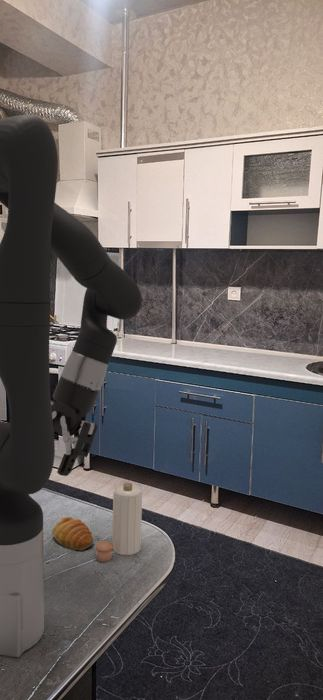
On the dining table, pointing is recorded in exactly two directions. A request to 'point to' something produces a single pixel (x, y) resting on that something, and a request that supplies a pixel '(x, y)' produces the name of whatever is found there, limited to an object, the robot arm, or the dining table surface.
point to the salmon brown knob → (104, 551)
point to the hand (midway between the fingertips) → (48, 465)
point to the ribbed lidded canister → (127, 519)
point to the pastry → (73, 534)
